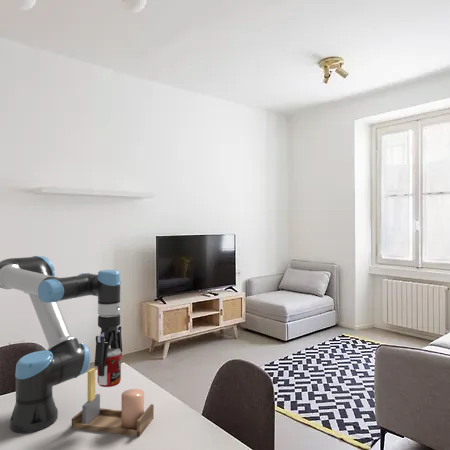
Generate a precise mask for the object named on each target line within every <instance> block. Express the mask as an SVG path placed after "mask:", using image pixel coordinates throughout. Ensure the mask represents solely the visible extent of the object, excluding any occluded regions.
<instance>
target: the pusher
mask: <svg viewBox="0 0 450 450" xmlns="http://www.w3.org/2000/svg"><path fill="white" fill-rule="evenodd" d="M100 408H101V393H96V368H95V367H94V368H93V367H92V368H90V369H88V370H87V401H86V402H85V403H84V404H83V405H82V410H81V411H82V423H84V424H89V423H90V422H91V421H92V420H93V419H94V418H95V417H96V416H97V415H98V414H100Z"/></svg>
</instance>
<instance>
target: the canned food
mask: <svg viewBox="0 0 450 450" xmlns="http://www.w3.org/2000/svg"><path fill="white" fill-rule="evenodd" d="M106 365H107V385H99V367H98V366H96V368H97V383H98V386H99V387H102V388H112V387H116V386H118V385H119V384H120V383H121V379H122V371H121V370H122V356H121V350H120V348H119V349H113V348H111V347H109V349H108V355H107V360H106Z"/></svg>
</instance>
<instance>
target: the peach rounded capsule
mask: <svg viewBox="0 0 450 450" xmlns="http://www.w3.org/2000/svg"><path fill="white" fill-rule="evenodd" d="M120 409H121V427H122V428H124V429H132V430H137V420H138V419H139V418H140V417H141V415H142V414H143V413H144V412H145V391H144V390H142V389H140V388H130V389H127V390H125V391H123V392H122V393H121V407H120Z"/></svg>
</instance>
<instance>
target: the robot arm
mask: <svg viewBox="0 0 450 450" xmlns="http://www.w3.org/2000/svg"><path fill="white" fill-rule="evenodd" d="M55 275H56V274H55V266H54V264H53V262H52V260H50V258H48V257H46V256H38V255H35V256H34V255H33V256H27V257H14V258H13V257H12V258H5V259H3V260H1V261H0V288H1V289H4V290H12V289H14V290H18V291H22V292H23V293H24V294H26V295H29V298H30V301H31V304H32V306H33V308H34V310H35V313H36V314H35V315H36V317H37V318H38V322H39V324H40V327H41V329H42V331H43V334H44V337H45V339H46V342H47V345H48V348H47V350H45V349H44V350H43V349H42V350H39V351H34V352H30V353H28V354H25V355H23V356H21V358H19V360H18V361H17V363H16V365H15V371H14V372H15V373H14V376H15V405H14V408H13V410H12V413H11V416H10V420H9V428H10V430H11V431H13V432H15V433H19V434H20V433H21V434H25V433H34V432H39V431H40V430H41V431H42V430H43V429H46V428H48V427H50V426H51V425H53V424H54V423H55V422H57V420H58V417H59V416H58V415H59V412H58V411H59V410H58V408H57V406H56V403H55V400H54V397H53V396H54V395H53V387H54V386H56V385H60V384H63V383H64V382H67V381H69V380H73V379H77V378H78V377H80V376H82V375H84V374H85V373H86V372H88V371H89V368H90V365H91V364H90V363H91V353H90V348H89V347H88V345H86V344H85V343H82V342H81V343H80V342H79V340H78V338H77V337H75V336H73V335H72V333H71V332H70V329H69V327H68V324H67V323H66V320H65V317H64V315H63V313H62V310H61V308H60V305H59V303H58V302H61V301H65V300H70V299H75V298H76V299H77V298H81V297H87V296H95V297H97V314H98V316H97V326H98V328H100V335H96V336H95V353H94V367H97V366H98V367H99V385H107V365H106V360H107V355H108V349H109V348H113V349H120V350H121V357H122V355H123V341H122V340H123V339H122V329H123V328H122V326H121V314H120V313H121V308H122V306H121V283H122V281H121V273H120V271H119V270H117V269H101V270H99V271H98V272H97V274H96V273H95V274H94V273H90V272H87V273H80V274H78V275H74V276H65V277H57V276H55ZM98 367H97V368H98ZM99 385H98V386H99Z"/></svg>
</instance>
